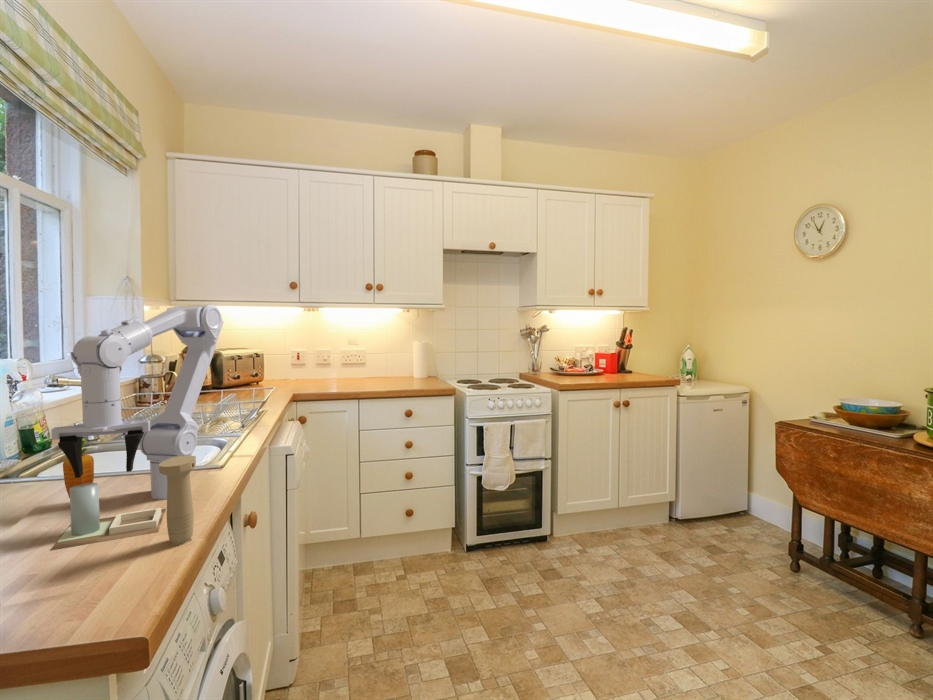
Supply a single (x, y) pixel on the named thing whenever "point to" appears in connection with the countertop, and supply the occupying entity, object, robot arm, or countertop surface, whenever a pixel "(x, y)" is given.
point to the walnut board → (113, 536)
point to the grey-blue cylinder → (84, 509)
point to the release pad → (69, 537)
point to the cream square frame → (118, 528)
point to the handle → (179, 498)
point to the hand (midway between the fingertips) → (104, 473)
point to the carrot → (87, 471)
